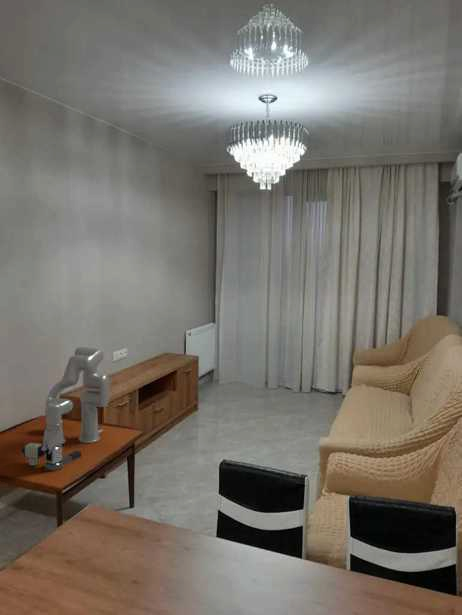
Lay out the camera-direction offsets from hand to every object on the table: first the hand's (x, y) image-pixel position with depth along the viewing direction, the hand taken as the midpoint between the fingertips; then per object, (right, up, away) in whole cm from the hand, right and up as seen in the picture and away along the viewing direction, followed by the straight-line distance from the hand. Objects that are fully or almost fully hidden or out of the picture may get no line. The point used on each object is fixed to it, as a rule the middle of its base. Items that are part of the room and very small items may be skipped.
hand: (53, 457), depth 251 cm
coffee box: (-18, +1, +47) cm, 51 cm away
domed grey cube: (0, -2, 0) cm, 2 cm away
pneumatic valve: (-12, -5, +4) cm, 14 cm away
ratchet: (+3, -5, +7) cm, 9 cm away
